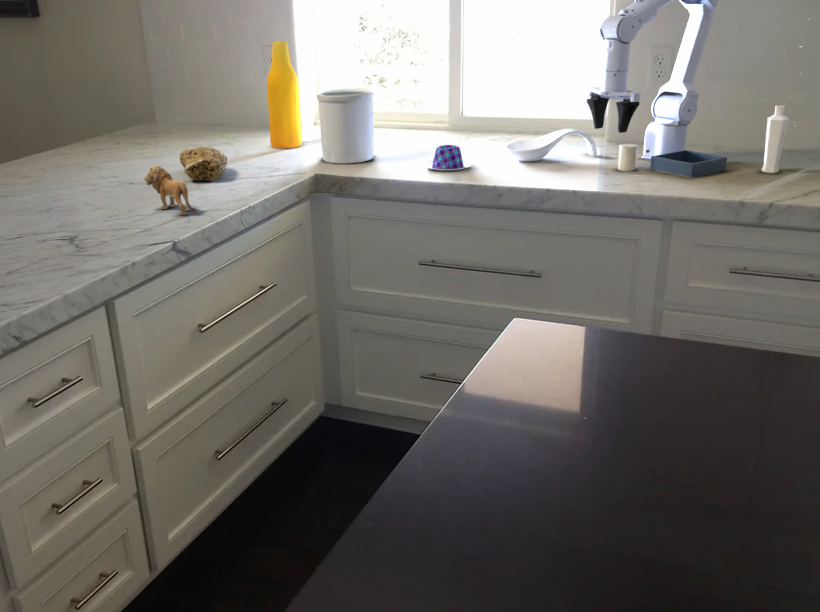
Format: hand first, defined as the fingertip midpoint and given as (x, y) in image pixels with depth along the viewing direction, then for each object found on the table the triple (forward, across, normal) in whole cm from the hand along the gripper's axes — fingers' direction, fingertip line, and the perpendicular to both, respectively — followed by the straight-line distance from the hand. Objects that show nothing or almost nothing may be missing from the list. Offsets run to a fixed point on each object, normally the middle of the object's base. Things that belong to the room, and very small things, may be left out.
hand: (610, 130), depth 207 cm
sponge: (+10, -60, -81) cm, 101 cm away
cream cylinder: (+9, +4, +3) cm, 10 cm away
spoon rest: (+10, -19, -1) cm, 21 cm away
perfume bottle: (+10, +26, +26) cm, 38 cm away
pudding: (+10, -27, -28) cm, 40 cm away
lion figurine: (+10, -30, -100) cm, 105 cm away
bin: (+9, +13, +13) cm, 21 cm away
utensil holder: (+10, -54, -42) cm, 69 cm away
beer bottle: (+10, -83, -45) cm, 95 cm away
